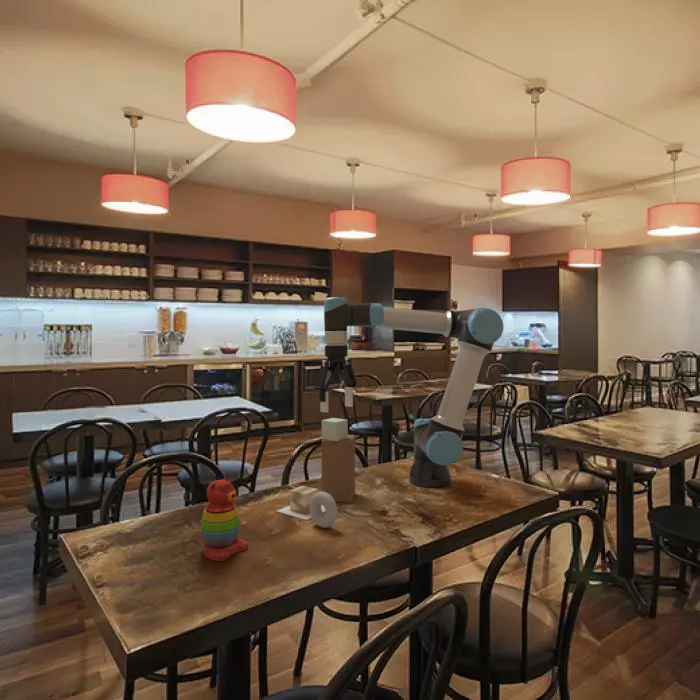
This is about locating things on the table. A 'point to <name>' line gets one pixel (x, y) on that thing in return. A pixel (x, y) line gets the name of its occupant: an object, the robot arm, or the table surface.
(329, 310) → the robot arm
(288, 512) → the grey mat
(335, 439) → the sage cube
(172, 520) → the table surface
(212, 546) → the stacking bear
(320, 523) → the donut
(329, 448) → the wooden block
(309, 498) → the maple cube
